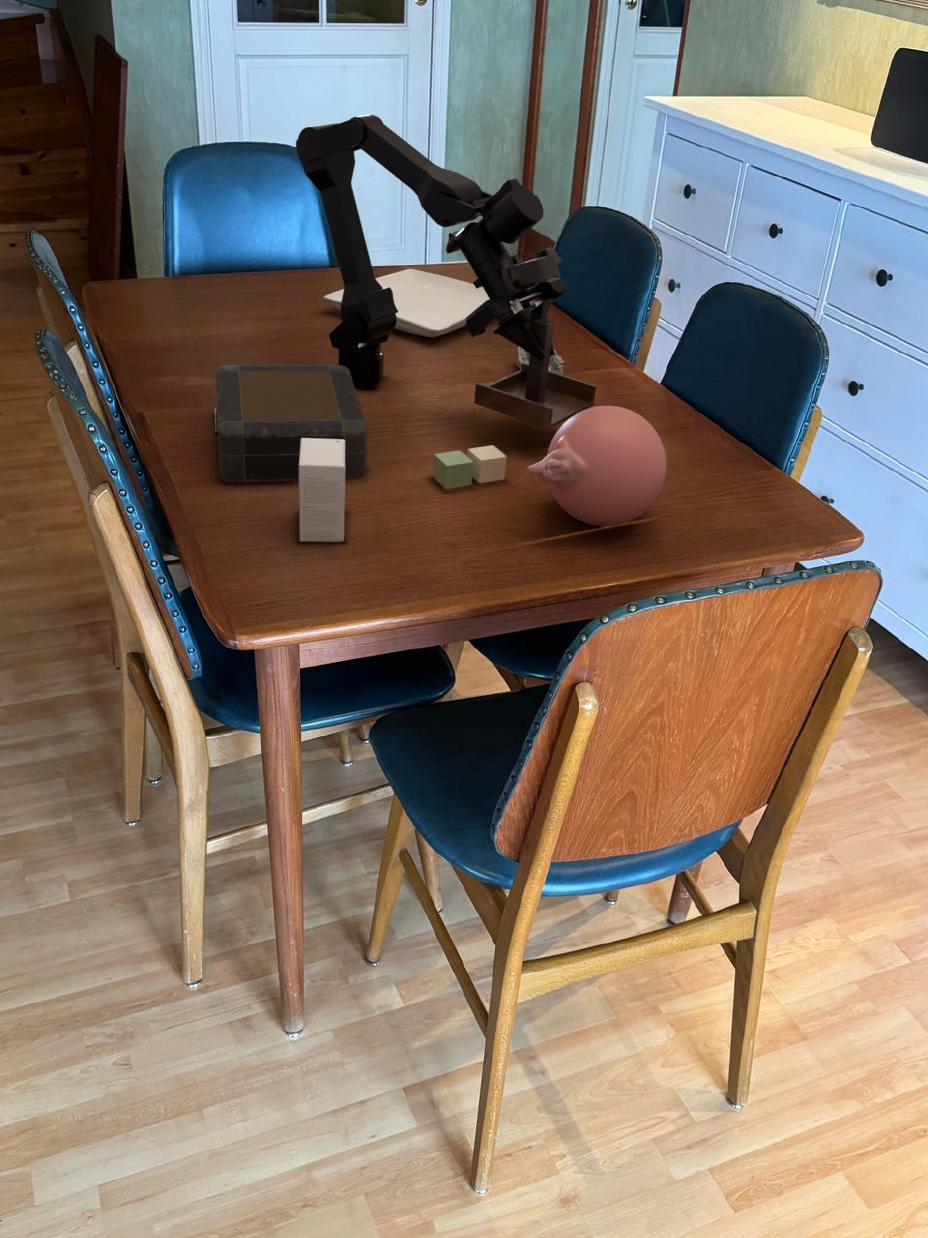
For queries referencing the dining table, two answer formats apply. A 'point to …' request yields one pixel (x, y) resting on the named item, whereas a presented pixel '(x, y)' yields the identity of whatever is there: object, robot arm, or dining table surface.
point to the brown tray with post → (537, 389)
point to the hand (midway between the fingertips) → (547, 357)
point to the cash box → (284, 419)
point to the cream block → (487, 463)
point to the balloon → (604, 466)
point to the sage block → (452, 469)
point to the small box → (321, 490)
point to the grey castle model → (554, 361)
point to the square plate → (427, 301)
